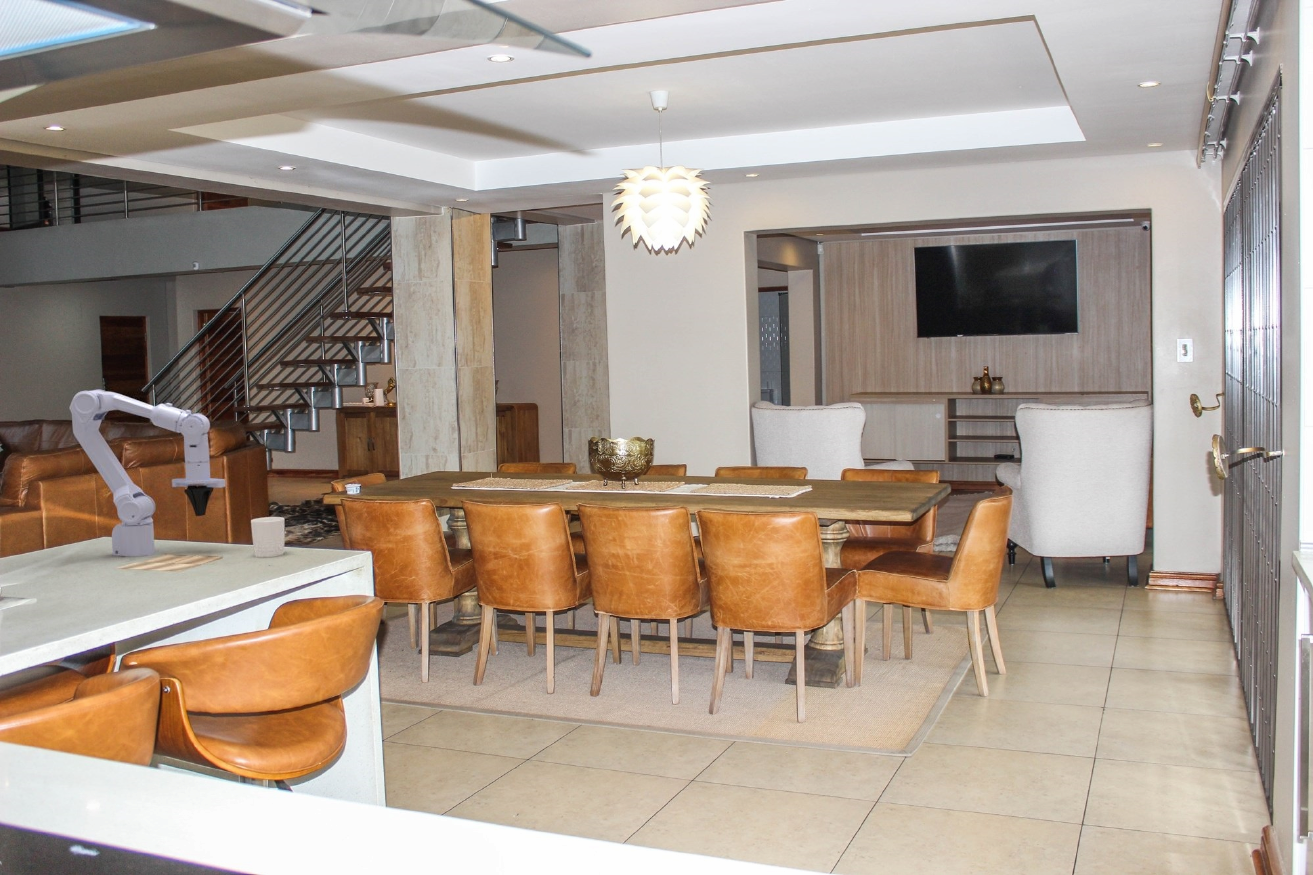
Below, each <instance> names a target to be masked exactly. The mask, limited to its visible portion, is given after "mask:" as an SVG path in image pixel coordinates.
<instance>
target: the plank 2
mask: <svg viewBox="0 0 1313 875" xmlns="http://www.w3.org/2000/svg"><path fill="white" fill-rule="evenodd" d="M223 558H224V556H221V555H220V556H219V555H203V554H201V555H200V554H194V556H192V557H189V558H186V559H183V560H180V561H177V562H174V563H176V564H197V565H200V566H202V565H204V564H208V563H211V562H215V561H218V560H221V559H223Z"/></svg>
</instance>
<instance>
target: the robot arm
mask: <svg viewBox="0 0 1313 875" xmlns="http://www.w3.org/2000/svg"><path fill="white" fill-rule="evenodd" d="M68 409H69V410H70V412H71V419H72V420H71V421H72V424H71V425H72V433H73V435H74V437H75V438H76V440H77V441H78V443H79V444H80V446H81V447H82V449H83V450H84V452H85V454H86V455H87V457H88V458H89V460H90V461H91V463H92V464H93V466H94V467H95V468H96V470H97V472H98V473H99V475H100V476H101V477H102V479H103V481H104V482H105V483H106V485H107V487H108V488H109V490H110V492H111V493H112V494H113V503H114V505H115V507H116V510H117V511H116V512H117V516H118V518H119V520H120V521H121V523H118V524H116V525H115V526H114V527H113V529H112V532H111V545H112V556H116V557H117V556H119V557H120V556H121V557H131V558H132V557H144V556H151V555H154V554H156V550H155V549H156V548H155V532H154V519H153V518H152V516H153V515H154V513H155V512H156V503H155V500H154V499H153V498H152V497H150V495H148V494H145V492H144V491H143V490H142V488H141V487H139V486H138V485H136V484H135V483H134V482H133V480H132V479H131V477H130V476H129V475H128V473H127V471H126V470H125V468H124V467H123V465H122V463H120V461H119V459H118V458H117V456H116V455H115V454H114V452H113V450H112V448H111V447H110V446H109V445H108V442H107V441H106V440H105V438H104V437H103V434H101V432H100V431H99V429H100V426H101V423H102V421H103V419H104V417H105V416H106V415H107V413H108V412H109V411H118V410H119V411H120V412H125V413H129V414H132V415H136V416H141V417H143V418H148V419H149V420H150V421H151V423H152V424H153V425H154V426H156V427H160V428H163V429H166V430H168V431H172V432H175V433H178V434H179V433H181V435H182V436H183V450H184V451H183V452H184V461H185V462H184V465H185V466H184V468H185V478H173V479H171V487H172V488H177V487H183V488H184V487H185V488H184V489H183V490H184V491H183V492H184V494H185V495H186V497H187V498H188V500H189V501H190V503H191V506H192V508H193V512H194V516H195V517H201V516H202V517H203V516H205V515H206V512H207V507H208V503H209V500H210V497H211V496H212V493H213V491H214V488H217V489H219V488H220V489H221V488H225V487H226V479H225V478H211V464H210V448H209V439H208V437H209V436H208V432H209V431H210V428H211V423H210V420H209V418H208V417H206V415H204V414H202V413H201V412H197V413H196V412H195V413H193V414H192V410H190V409H185V410H184V409H180V408H177V407H174V406H173V403H170V402H167V403H166V402H165V403H160V404H157V405H151V404H149V403H146V402H143V401H140V400H137V399H135V398H131V397H129V396H126V395H123V394H121V393H117V392H114V391H106V390H103V389H97V388H96V389H93V390H83V391H82V390H81V391H79V392H77V393H76V394H75V395H73V398H72V400H71V403H70V405H69V408H68Z"/></svg>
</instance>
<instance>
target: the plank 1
mask: <svg viewBox="0 0 1313 875" xmlns="http://www.w3.org/2000/svg"><path fill="white" fill-rule="evenodd" d="M194 555H195V554H194ZM194 555H192V554H170V553H166V554H164V555H163V554H162V555H161V556H158V557H157V556H156V557H155V558H151V559H149V560H144V561H143V562H154V563H175V562H177V561H180V560H183V559H186V558H189V557H192V556H194Z"/></svg>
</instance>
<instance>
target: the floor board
mask: <svg viewBox="0 0 1313 875" xmlns="http://www.w3.org/2000/svg"><path fill="white" fill-rule="evenodd" d="M200 566H201V565H199V564H177V563H175V562H174V563H156V562H144V561H138V562H134V563H130V564H126V565H123V566H122V565H121V566H118V567H115V569H121V570H137V571H139V570H140V571H158V572H159V571H160V572H177V573H179V572H182V571H185V570H188V569H192V568H195V567H200Z"/></svg>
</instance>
